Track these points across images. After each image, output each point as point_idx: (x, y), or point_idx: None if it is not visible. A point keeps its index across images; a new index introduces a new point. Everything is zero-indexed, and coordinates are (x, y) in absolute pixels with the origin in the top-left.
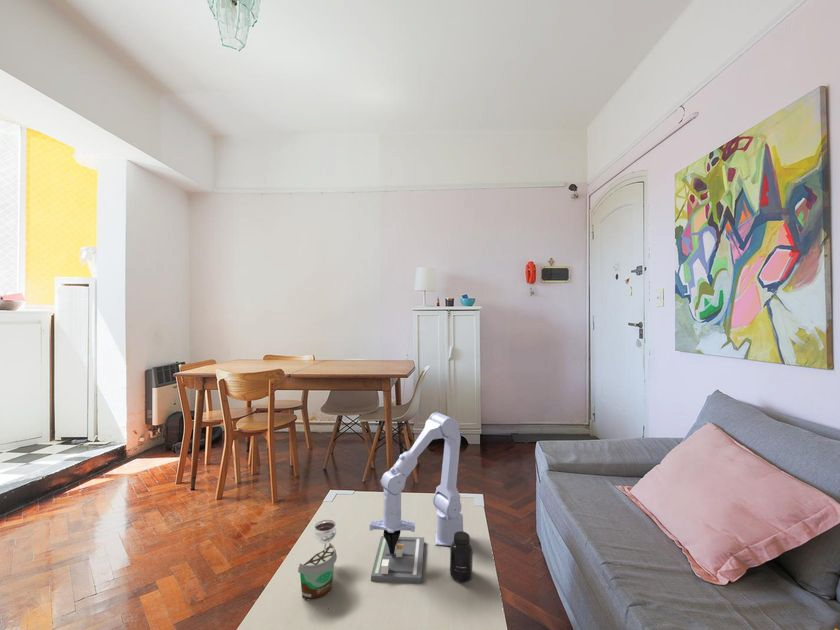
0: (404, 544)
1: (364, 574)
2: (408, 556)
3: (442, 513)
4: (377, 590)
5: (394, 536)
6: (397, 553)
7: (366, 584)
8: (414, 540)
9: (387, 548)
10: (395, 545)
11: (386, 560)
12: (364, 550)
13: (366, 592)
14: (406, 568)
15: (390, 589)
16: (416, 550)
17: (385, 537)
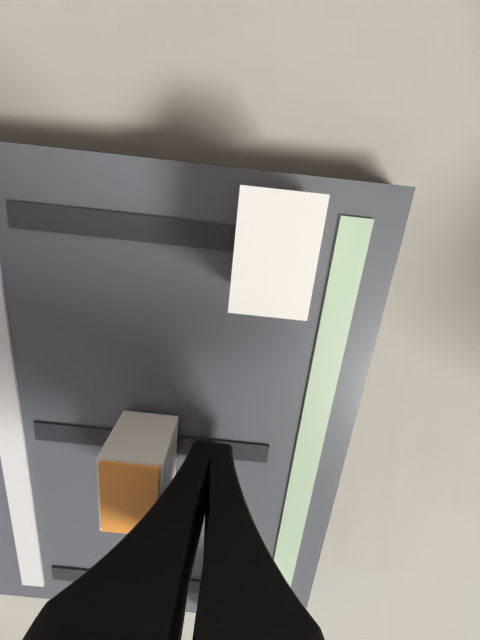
0: None
1: (443, 272)
2: (76, 422)
3: None
4: (339, 43)
5: (113, 632)
6: (157, 435)
7: (438, 139)
8: (56, 573)
9: (255, 513)
10: (158, 500)
11: (260, 298)
12: (417, 516)
13: (449, 15)
14: (69, 276)
15: (213, 53)
16: (20, 479)
17: (291, 618)
